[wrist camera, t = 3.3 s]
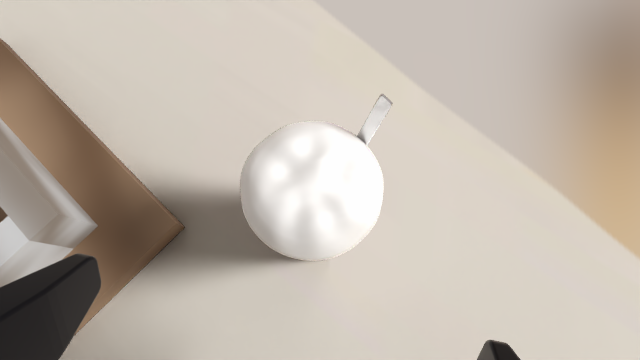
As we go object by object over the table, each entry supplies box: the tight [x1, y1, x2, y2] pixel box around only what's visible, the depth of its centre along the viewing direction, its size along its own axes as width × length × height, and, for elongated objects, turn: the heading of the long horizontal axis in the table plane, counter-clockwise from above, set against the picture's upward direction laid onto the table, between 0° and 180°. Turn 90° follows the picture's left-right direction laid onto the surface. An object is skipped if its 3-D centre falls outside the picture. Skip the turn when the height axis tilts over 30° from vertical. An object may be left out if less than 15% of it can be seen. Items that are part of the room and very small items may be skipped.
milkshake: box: [240, 94, 392, 261], centre depth 16 cm, size 4×5×10 cm
